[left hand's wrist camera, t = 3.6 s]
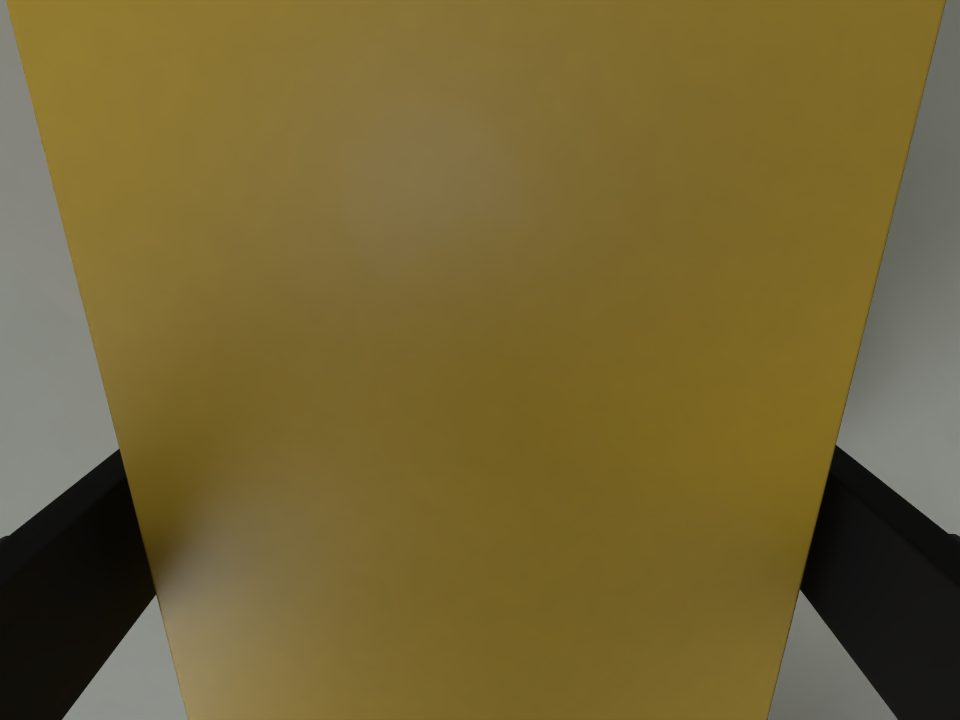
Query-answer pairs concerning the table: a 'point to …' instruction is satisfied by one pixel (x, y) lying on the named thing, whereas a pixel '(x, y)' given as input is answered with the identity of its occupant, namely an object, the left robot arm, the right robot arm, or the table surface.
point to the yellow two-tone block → (476, 331)
